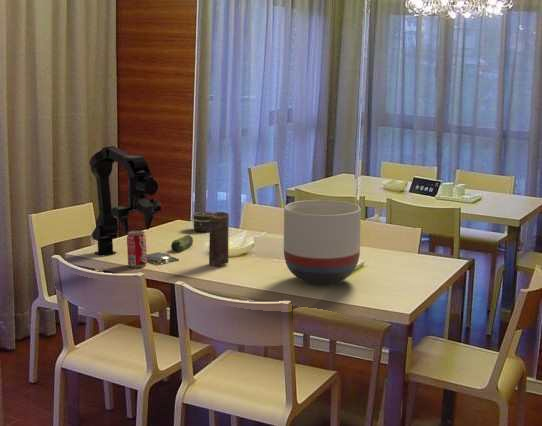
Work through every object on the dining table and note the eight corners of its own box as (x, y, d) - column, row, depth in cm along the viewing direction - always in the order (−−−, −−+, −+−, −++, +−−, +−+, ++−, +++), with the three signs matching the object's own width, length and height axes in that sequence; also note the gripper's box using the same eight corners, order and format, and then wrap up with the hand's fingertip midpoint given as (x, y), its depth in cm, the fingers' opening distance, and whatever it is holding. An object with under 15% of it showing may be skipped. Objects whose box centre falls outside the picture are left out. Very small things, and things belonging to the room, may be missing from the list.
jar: (190, 232, 366) (190, 215, 364) (196, 227, 375) (196, 211, 374) (212, 233, 364) (212, 216, 362) (217, 228, 374) (217, 212, 372)
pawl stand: (137, 257, 324) (137, 254, 323) (158, 253, 330) (158, 250, 330) (157, 265, 314) (157, 261, 313) (178, 260, 320) (178, 257, 320)
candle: (232, 263, 316) (232, 212, 312) (223, 268, 309) (222, 216, 305) (214, 261, 319) (214, 210, 315) (205, 266, 313) (204, 214, 308)
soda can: (143, 268, 309) (142, 235, 306) (125, 267, 310) (123, 234, 307) (149, 263, 316) (148, 230, 313) (131, 262, 317) (130, 229, 314)
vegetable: (180, 253, 331) (180, 241, 330) (169, 252, 333) (168, 240, 332) (196, 245, 344) (196, 234, 342) (185, 244, 345) (184, 233, 344)
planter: (371, 289, 284) (373, 212, 279) (297, 296, 277) (297, 217, 271) (342, 268, 310) (344, 198, 304) (274, 274, 302) (274, 202, 296)
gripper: (126, 197, 294) (127, 239, 298) (169, 191, 306) (170, 231, 310) (110, 192, 302) (111, 233, 306) (152, 186, 314) (153, 226, 318)
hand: (137, 231), depth 310 cm, fingers open, 9 cm apart
